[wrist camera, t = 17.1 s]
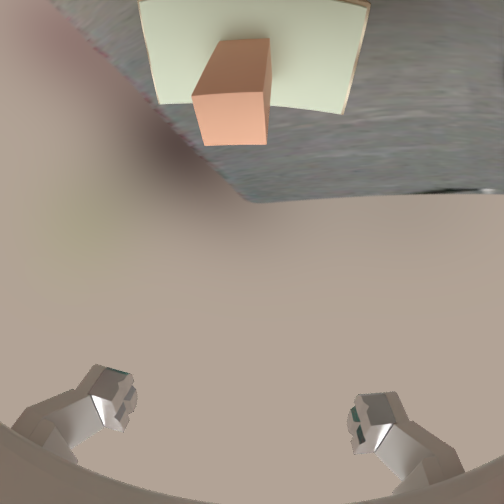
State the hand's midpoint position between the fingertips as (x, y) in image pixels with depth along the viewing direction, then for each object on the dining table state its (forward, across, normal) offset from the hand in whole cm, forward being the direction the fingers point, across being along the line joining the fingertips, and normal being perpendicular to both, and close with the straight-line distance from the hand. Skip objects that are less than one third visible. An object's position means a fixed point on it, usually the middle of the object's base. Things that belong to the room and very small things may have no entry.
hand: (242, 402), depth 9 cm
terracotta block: (+17, -2, +16) cm, 24 cm away
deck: (+19, -2, +20) cm, 27 cm away
